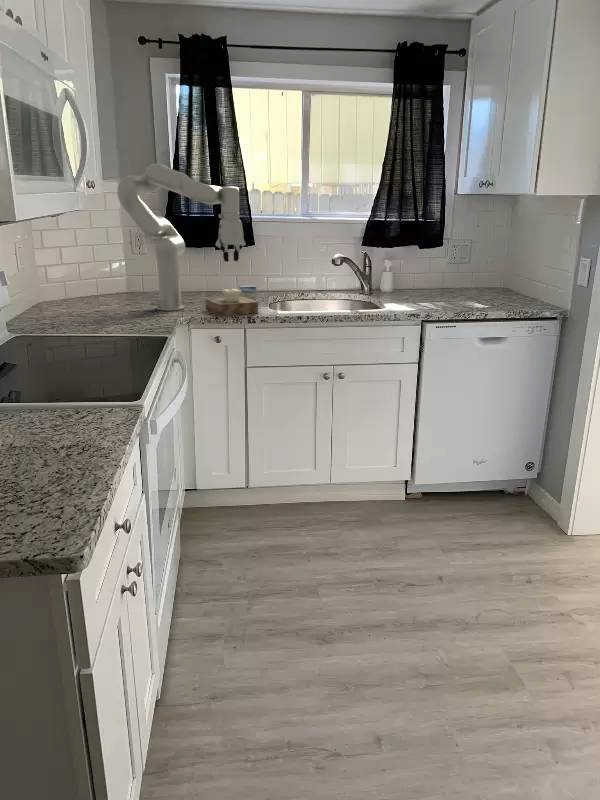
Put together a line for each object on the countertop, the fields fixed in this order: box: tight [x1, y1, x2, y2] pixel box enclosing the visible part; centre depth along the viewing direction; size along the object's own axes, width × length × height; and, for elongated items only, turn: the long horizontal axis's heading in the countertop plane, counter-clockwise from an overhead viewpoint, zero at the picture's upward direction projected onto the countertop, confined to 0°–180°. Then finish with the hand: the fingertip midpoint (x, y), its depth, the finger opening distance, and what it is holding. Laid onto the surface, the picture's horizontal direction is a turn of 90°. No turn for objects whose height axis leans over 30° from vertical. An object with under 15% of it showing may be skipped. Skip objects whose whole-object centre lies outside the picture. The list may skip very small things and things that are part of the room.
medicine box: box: [238, 285, 257, 301], centre depth 292 cm, size 8×4×9 cm, turn 105°
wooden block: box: [205, 297, 259, 317], centre depth 273 cm, size 18×16×5 cm
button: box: [221, 288, 241, 302], centre depth 271 cm, size 6×6×6 cm
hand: (231, 260), depth 267 cm, fingers open, 3 cm apart
